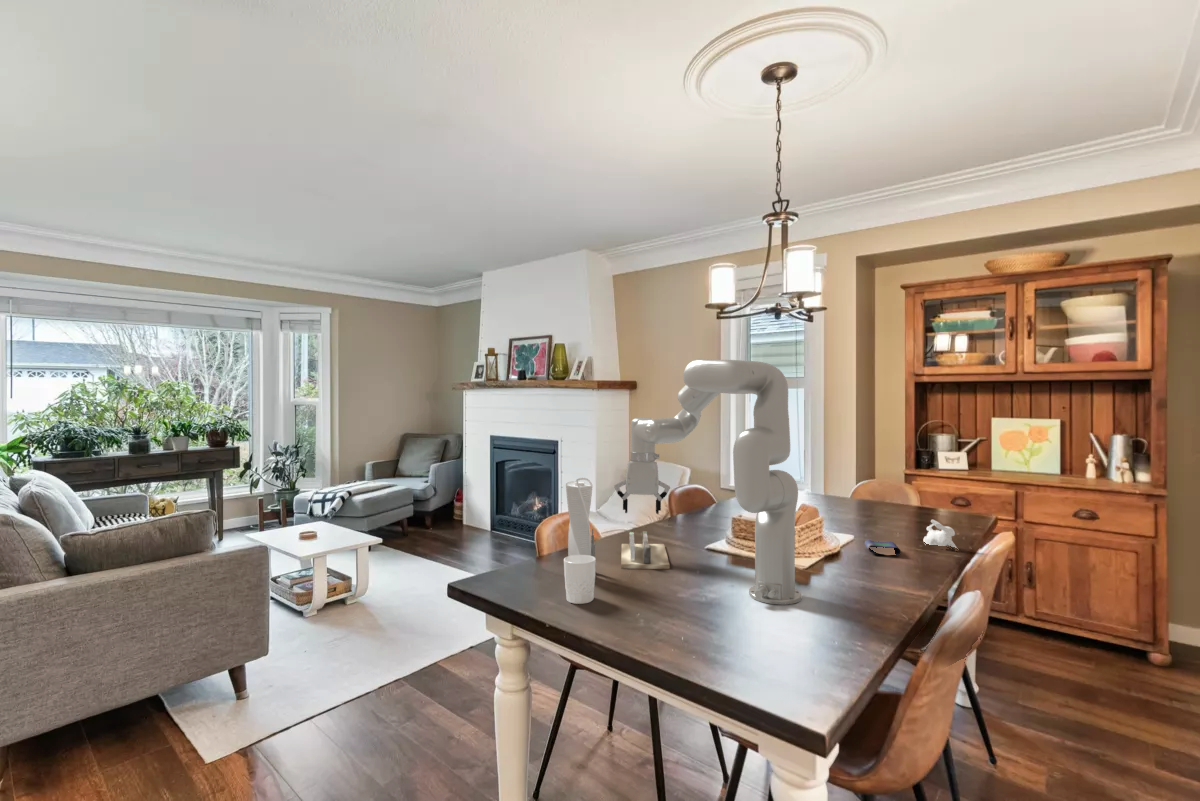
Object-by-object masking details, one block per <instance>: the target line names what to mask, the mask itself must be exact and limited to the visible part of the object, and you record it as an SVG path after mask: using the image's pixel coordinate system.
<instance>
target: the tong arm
mask: <svg viewBox="0 0 1200 801" xmlns="http://www.w3.org/2000/svg"><path fill="white" fill-rule="evenodd" d="M628 536H629V539H628V540H629V543H628V544H629V545H630V556H631V561H635V544H636V543H635V533H634V532H633V531H632V532H631V531H630V532H629V535H628Z"/></svg>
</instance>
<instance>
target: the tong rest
mask: <svg viewBox="0 0 1200 801" xmlns="http://www.w3.org/2000/svg"><path fill="white" fill-rule="evenodd" d="M620 553H621V554H620V558H621V559H620V568H621V569H639V570H641V569H645V570H646V569H647V570H670V569H671V568H670V566H671V565H670V560H669V558H668V553H667V549H666V547H665V544H664V543H649V539H648V531H647V530H642V543H635V561H631V556H630V545H629V543H621V552H620Z"/></svg>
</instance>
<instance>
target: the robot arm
mask: <svg viewBox="0 0 1200 801" xmlns="http://www.w3.org/2000/svg"><path fill="white" fill-rule="evenodd" d="M682 377H683V382H684V384H685V385H684V386H682V387H681V389H680V390H679V391H678V393H677V399H678V403H679V404H680V406H681V407H682V409H681V410H680V411H679V412H677V414H676V415H675V416H674V417H666V418H664V417H662V418H651V417H635V418H633V419H632V420H631V423H630V458H629V459H630V461H627V466H626V472H625V473H626V474H625V479H624V480H622V481H620V482H617V483H616V484H614V485H613V486H614V489H615V492H616V493H617V495H618V496H619V497H620V498H621V500H622V510H623V511H624V513H625V514H628V500H629V499H628V497H629V496H631V495H639V496H640V495H644V496H645V495H647V496H652V495H653V496H654V497H655V498H656V499H655V513H656V514H657V515H659V511H661V509H662V506H661V504H662V500H664V498H665V497H667V495H668V493H669V491H670V489H671V487H670V485H668V484H667V483H664V482H663V481H661V480H659V470H658V468H659V467H658V462H657V461H655V460H657V459H658V460H659V459H660V453H656V449H655V448H656V445H659V444H660V445H661V444H670V443H671V444H674V443H678V442H681V441H682V440H684V439H685V438H687V436H689V435H690V434H691V433H692V432H693V431H694V430H695V429H696V428H697V426H698V425H699V423H700V420H701V416H702V412H703V411H704V409H705V408H706V407H707V406H708V405H709V404H710V403H711V402H713V400H714V399H716V398H717V397H718V396H719V395H720V394H729V395H730V394H732V395H736V394H738V395H749V394H752V395H756V396H757V398H756V400H755V402H754V406H753V427H752V428H751V427H750V428H747V429H744V430H743V431H741V432H740V433H739V434H738V435H737V436H736V438H735V441H734V444H733V450H732V451H733V452H732V455H733V456H732V457H733V458H732V460H733V478H734V479H733V481H734V484H733V485H734V493H735V498H736V501H737V503H738V504H739V506H740V507H741V508H742V509H743V511H746V512H748V513H750V514H756V516H755V522H754V523H755V524H754V568H755V569H754V570H755V571H754V572H755V573H754V574H755V575H754V576H755V578H754V580H755V582H754V585H753V586H751V587H749V589H748V595H749V597H751V598H752V599H753V600H755V601H757V602H759V603H760V602H761V603H763V604H765V603H766V604H770V605H781V606H785V605H793V604H797V603H799V602H801V600H802V592H800V591H799V590H798V589H796V588H795V587H796V571H795V570H796V568H795V567H796V566H795V565H796V564H795V562H796V561H795V560H796V559H795V558H796V556H795V555H796V554H795V549H796V548H795V541H796V540H795V538H796V537H795V536H796V535H795V534H796V533H795V532H796V531H795V530H796V527H795V526H796V525H795V523H796V512H797V506H798V499H799V487H798V483H797V481H796V479H795V478H794V477H793V476H792V475H791V474H790V473H788V472H787V471H785V470H780V469H770V466H774V465H780V464H782V463H784V462H785V461H787V460H788V459H789V457H790V455H791V433H790V432H791V431H790V430H791V429H790V415H789V385H788V381H787V378H786V376H785V374H784V373H783V372H782V371H781V370H780V369H779V368H778V367H777V366H774V365H773V364H770V363H767V362H764V361H763V362H762V361H756V360H741V359H740V360H737V359H736V360H735V359H709V358H696V359H693V360H691V361H690V362H688V364H687V365H686V366H685V368H684V371H683V374H682ZM623 486H625V492H624V493H623V492H622V490H621V489H620V488H622V487H623ZM659 487H662V488H663V489H664V490H663V491H662V492H661V493H659Z"/></svg>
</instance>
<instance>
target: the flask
mask: <svg viewBox="0 0 1200 801" xmlns="http://www.w3.org/2000/svg"><path fill="white" fill-rule="evenodd" d="M864 546H865V547H866V549H867V550H868V551H869V552H870V553H871V554H875V555H877V554H876V552H874V551H873V550H871V549H870V548H869V547H876V548H877V547H883V548H884V547H885V548H894V550H895V554H896V555H897V556H900V555H901V552H902V550H901V549H900V548H899V546H897V544H896V543H894V542H893V541H880V540H878V541H874V540H870V539H866V540H865V541H864Z"/></svg>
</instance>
